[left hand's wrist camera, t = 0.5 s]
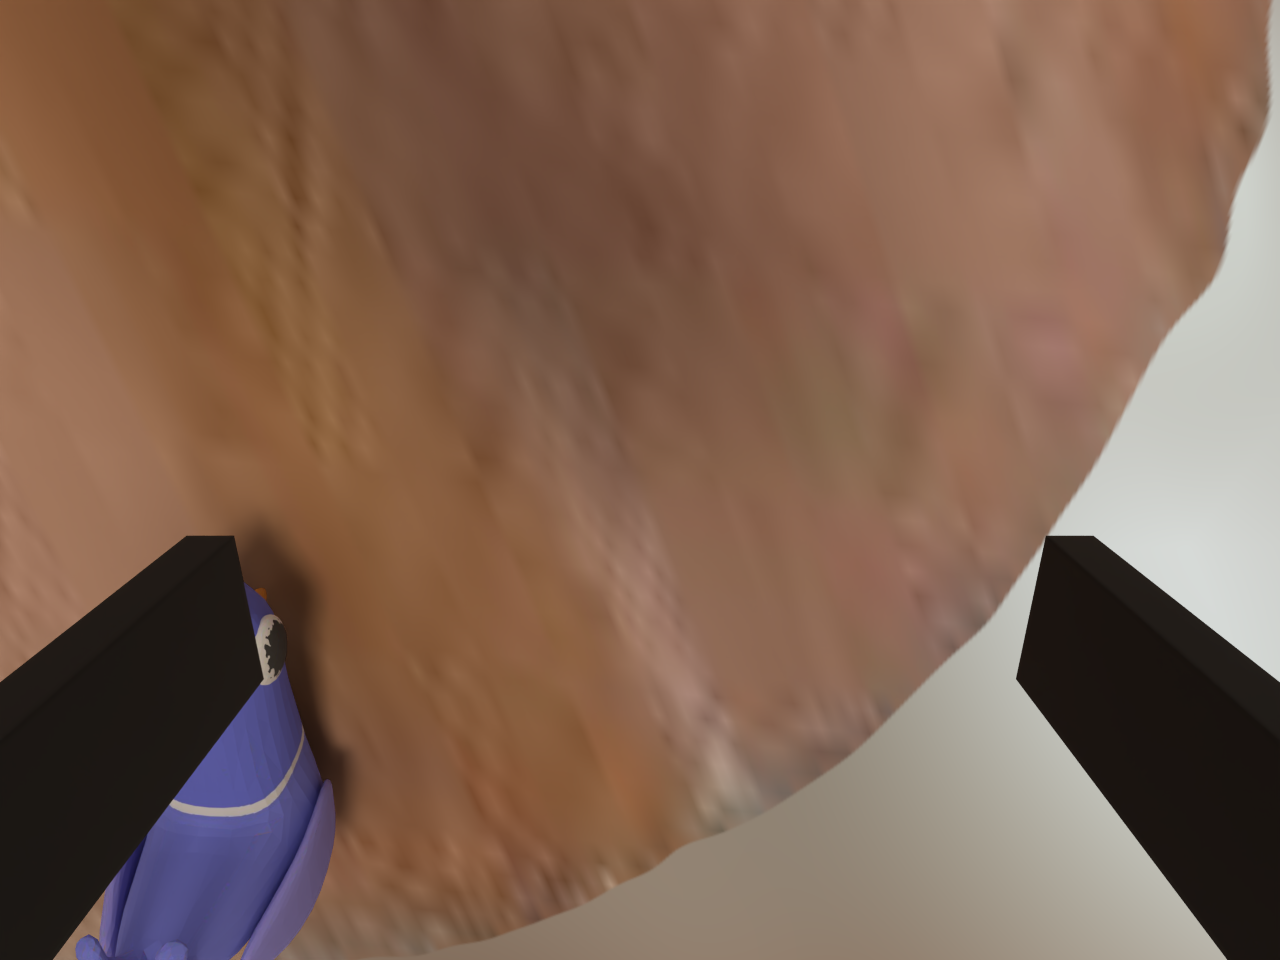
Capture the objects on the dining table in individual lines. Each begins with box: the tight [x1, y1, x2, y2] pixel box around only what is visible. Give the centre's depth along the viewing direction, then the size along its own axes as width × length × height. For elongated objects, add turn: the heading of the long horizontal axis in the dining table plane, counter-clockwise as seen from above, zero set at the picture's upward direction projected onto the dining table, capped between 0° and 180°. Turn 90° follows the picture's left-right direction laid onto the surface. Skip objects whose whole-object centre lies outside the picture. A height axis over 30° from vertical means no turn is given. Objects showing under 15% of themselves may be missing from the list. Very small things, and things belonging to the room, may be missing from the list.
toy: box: [76, 583, 335, 960], centre depth 39 cm, size 10×17×25 cm
